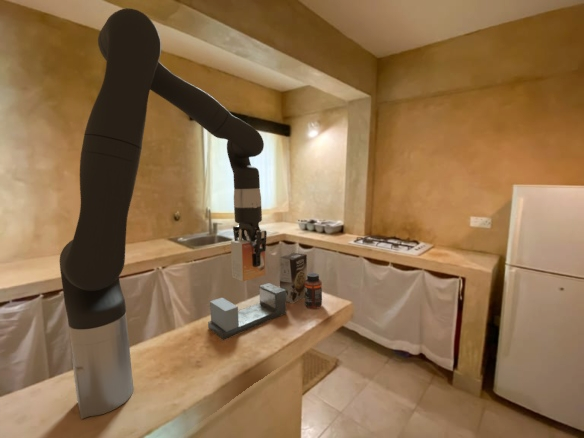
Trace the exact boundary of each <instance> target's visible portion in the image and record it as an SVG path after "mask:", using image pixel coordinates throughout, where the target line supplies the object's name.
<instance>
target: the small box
mask: <svg viewBox="0 0 584 438" xmlns="http://www.w3.org/2000/svg"><path fill="white" fill-rule="evenodd" d="M252 242H256V240H255V241H252ZM254 246H255V249H256V245H254ZM261 247H262V244H261ZM230 253H231V254H230V256H231V277H232V278H233V279H236V280H237V281H238V280H239V281H241V282H245V281H249V280H252V279H256V278H260V277H265V276H266V250H265V251H264V252H261V253H260V257H261V264H260V266H258V267H253V262H252V254H253V253H252V247H251V246H250V243H249V242H248V241H246V240H238V241H235V240H232V241H230Z"/></svg>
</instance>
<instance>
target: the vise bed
mask: <svg viewBox="0 0 584 438" xmlns="http://www.w3.org/2000/svg"><path fill="white" fill-rule="evenodd" d="M285 314H287V301H286V290H285V289H282V288H280V286H277V285H275V284H272V283H269V282H268V283H265V284H261V285H259V302H258V303H256V304H253V305H250V306H248V307H245V308H242V309H240V310H239V309H238V320H239V327H237V328H234V329H232V330H229V331H227V332H226V331H225V330H223V329H222V328H221V327H219V326H218V325H217V324H215V323H214V322H213V321H211V320H209V321H208V322H207V323H208V324H207V325H208V329H209V330H210V331H211V332H213V333H214V334H215V336H218V337H219V338H220V339H221V340H222V341H225V340H227V339H229V338H232V337H234V336H237V335H239V334H241V333H244V332H246V331H248V330H250V329H253V328H255V327H258V326H260V325H263V324H264V323H267V322H269V321H271V320H273V319H276V318H279V317H281V316H283V315H285Z"/></svg>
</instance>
